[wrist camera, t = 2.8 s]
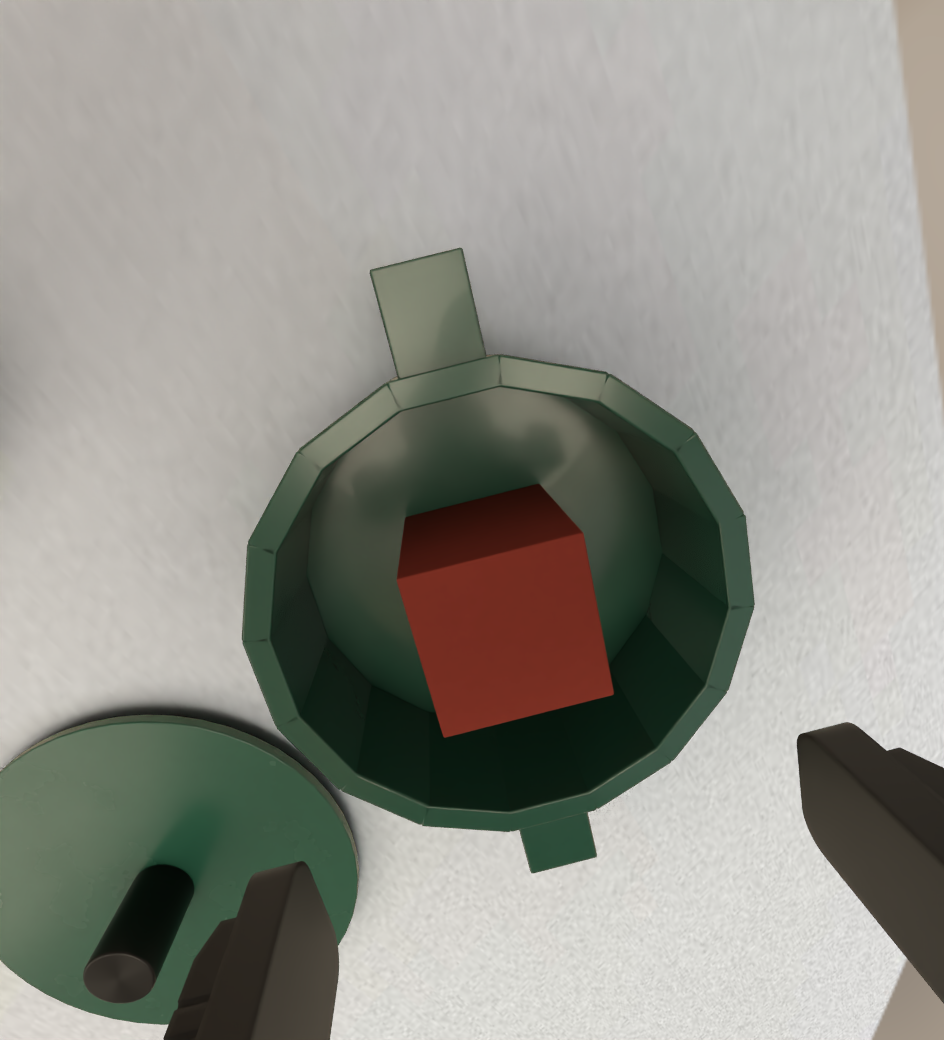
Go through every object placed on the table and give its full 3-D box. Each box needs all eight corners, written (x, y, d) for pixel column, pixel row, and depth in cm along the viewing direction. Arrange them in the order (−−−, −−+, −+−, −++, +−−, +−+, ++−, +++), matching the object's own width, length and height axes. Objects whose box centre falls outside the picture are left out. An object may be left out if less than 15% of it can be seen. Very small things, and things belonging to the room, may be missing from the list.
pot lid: (294, 662, 22) (261, 740, 18) (401, 949, 27) (396, 1070, 22) (-97, 761, 22) (-232, 865, 18) (75, 1033, 26) (3, 1172, 22)
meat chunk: (539, 482, 20) (583, 532, 15) (565, 606, 22) (614, 695, 16) (404, 516, 20) (395, 579, 15) (439, 638, 22) (443, 738, 16)
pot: (632, 229, 19) (711, 179, 14) (703, 729, 24) (778, 830, 19) (202, 336, 19) (115, 327, 13) (373, 813, 24) (359, 938, 19)
